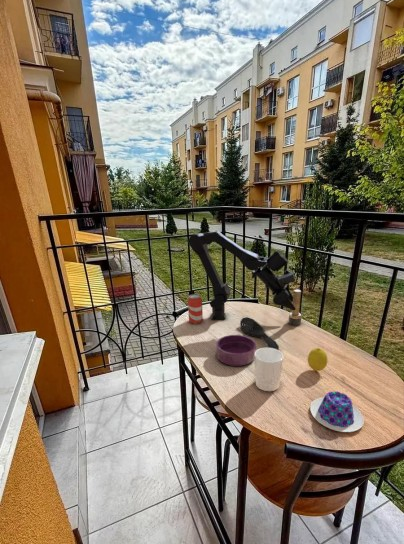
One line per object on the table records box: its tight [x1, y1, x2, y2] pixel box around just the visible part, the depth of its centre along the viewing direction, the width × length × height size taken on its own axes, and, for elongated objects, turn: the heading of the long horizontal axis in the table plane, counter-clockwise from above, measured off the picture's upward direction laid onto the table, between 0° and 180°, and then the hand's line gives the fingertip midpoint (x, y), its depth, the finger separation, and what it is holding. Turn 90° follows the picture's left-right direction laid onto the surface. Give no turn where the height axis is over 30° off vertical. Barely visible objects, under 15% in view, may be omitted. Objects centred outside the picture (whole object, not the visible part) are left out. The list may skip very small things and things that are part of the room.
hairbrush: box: [239, 316, 280, 351], centre depth 109 cm, size 8×4×25 cm
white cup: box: [254, 347, 284, 392], centre depth 80 cm, size 8×8×10 cm
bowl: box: [215, 334, 257, 367], centre depth 95 cm, size 13×13×5 cm
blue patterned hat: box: [309, 391, 365, 433], centre depth 68 cm, size 12×12×5 cm
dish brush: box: [288, 289, 302, 327], centre depth 117 cm, size 5×5×15 cm
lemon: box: [307, 347, 328, 372], centre depth 86 cm, size 6×6×8 cm
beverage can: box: [187, 293, 204, 325], centre depth 123 cm, size 6×6×12 cm
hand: (294, 305), depth 117 cm, fingers open, 9 cm apart
